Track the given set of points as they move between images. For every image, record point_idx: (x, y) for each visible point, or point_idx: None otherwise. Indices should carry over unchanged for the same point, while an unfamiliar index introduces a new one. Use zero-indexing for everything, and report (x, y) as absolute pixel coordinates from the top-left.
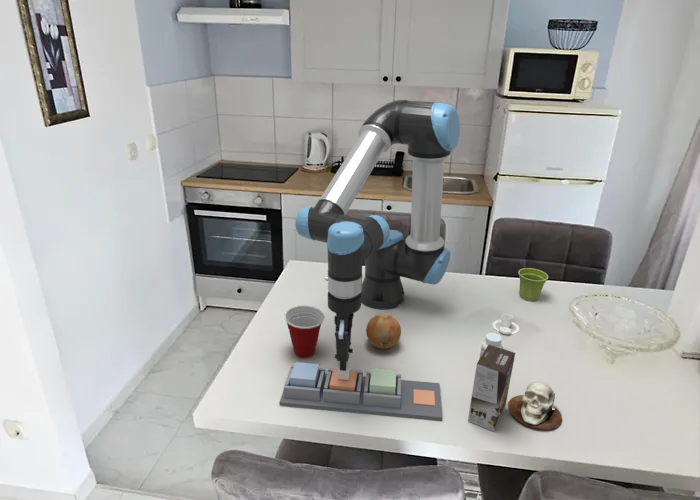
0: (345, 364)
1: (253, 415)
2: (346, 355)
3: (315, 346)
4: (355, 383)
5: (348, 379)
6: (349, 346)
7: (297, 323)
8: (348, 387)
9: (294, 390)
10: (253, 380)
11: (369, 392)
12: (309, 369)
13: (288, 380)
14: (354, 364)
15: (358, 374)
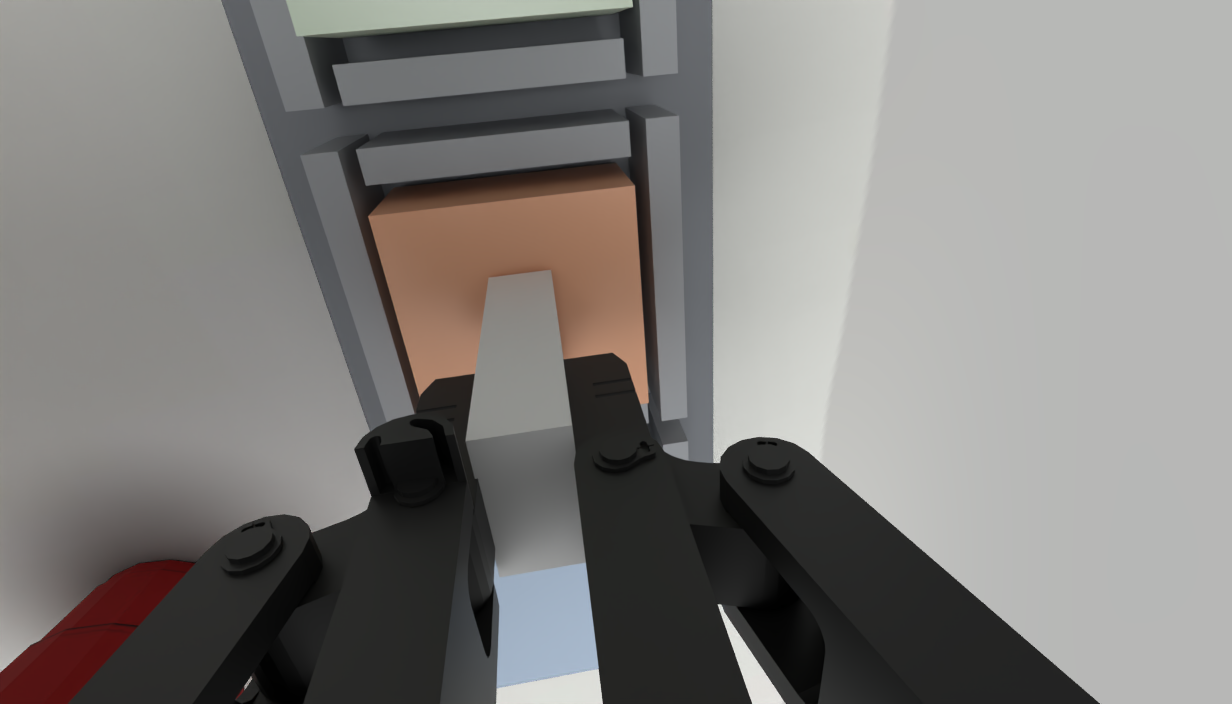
0: (641, 409)
1: None
2: (934, 567)
3: (129, 609)
4: (558, 191)
5: (551, 274)
6: (418, 555)
7: None
8: (638, 244)
9: None
10: (554, 698)
11: (615, 12)
12: (546, 593)
13: None
14: (107, 262)
15: (356, 193)
